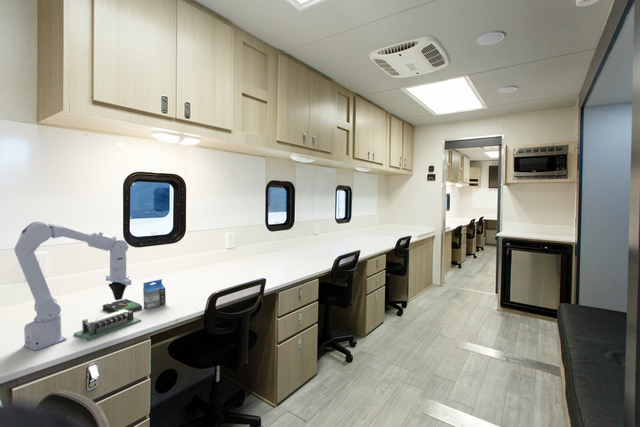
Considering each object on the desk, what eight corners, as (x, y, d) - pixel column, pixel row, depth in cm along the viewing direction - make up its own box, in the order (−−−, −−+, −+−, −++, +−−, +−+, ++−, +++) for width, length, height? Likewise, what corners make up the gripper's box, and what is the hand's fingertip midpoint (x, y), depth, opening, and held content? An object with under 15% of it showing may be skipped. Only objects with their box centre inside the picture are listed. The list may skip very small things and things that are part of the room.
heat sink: (91, 336, 112) (91, 323, 112) (81, 332, 115) (81, 320, 115) (127, 323, 124) (126, 311, 124) (117, 319, 127) (116, 308, 127)
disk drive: (102, 310, 140) (119, 317, 132) (102, 305, 139) (119, 311, 132) (125, 304, 149) (142, 309, 141) (125, 298, 148) (142, 304, 141)
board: (88, 341, 110) (88, 330, 110) (73, 335, 114) (73, 324, 114) (141, 321, 128) (140, 311, 128) (126, 316, 132) (126, 307, 132)
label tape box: (147, 309, 141) (146, 284, 140) (143, 307, 143) (142, 282, 142) (165, 304, 148) (165, 280, 147) (162, 302, 150) (161, 278, 149)
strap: (88, 329, 113) (88, 323, 113) (84, 327, 114) (84, 321, 114) (127, 315, 126) (127, 310, 126) (123, 314, 127) (123, 308, 127)
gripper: (138, 268, 124) (138, 299, 125) (118, 263, 131) (118, 293, 132) (120, 271, 118) (121, 304, 119) (100, 266, 124) (100, 298, 125)
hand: (118, 299), depth 125 cm, fingers closed
